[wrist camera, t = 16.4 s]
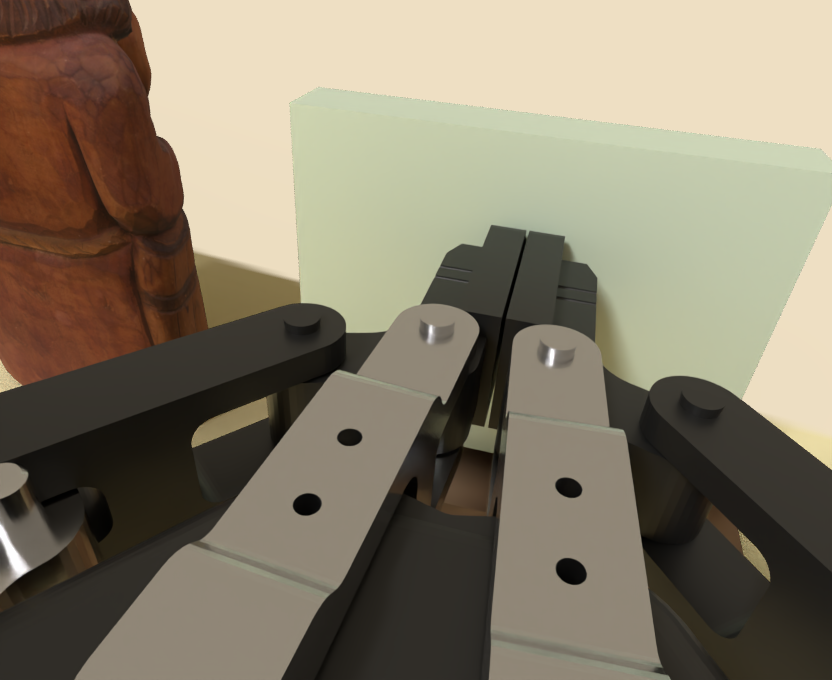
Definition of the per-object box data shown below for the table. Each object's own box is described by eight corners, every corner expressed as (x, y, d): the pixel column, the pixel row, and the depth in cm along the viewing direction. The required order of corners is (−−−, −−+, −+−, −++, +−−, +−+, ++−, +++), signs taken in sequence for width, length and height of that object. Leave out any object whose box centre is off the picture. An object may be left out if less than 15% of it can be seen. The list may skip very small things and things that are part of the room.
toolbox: (82, 980, 13) (-41, 866, 9) (380, 386, 29) (384, 253, 25) (690, 1240, 11) (891, 1244, 7) (640, 441, 27) (689, 305, 23)
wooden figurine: (264, 367, 30) (217, -80, 20) (179, 454, 25) (58, -84, 15) (71, 312, 33) (-55, -101, 23) (-39, 379, 28) (-265, -111, 18)
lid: (273, 403, 17) (242, 97, 12) (402, 221, 27) (411, 19, 23) (739, 508, 15) (911, 183, 10) (685, 266, 25) (757, 53, 21)
